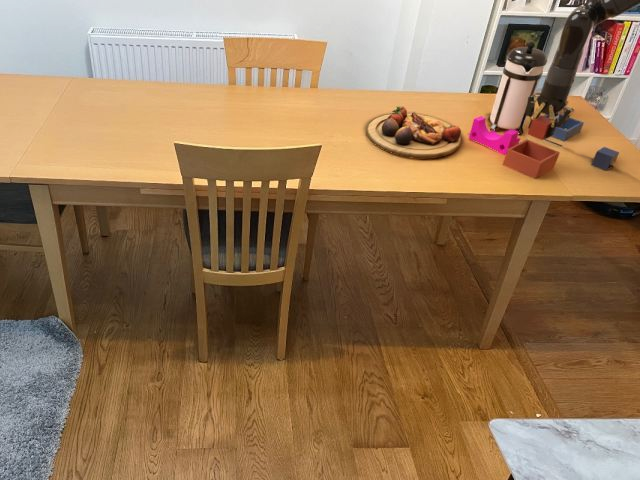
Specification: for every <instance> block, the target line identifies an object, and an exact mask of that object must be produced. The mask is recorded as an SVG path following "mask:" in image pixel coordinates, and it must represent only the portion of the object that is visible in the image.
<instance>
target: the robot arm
mask: <svg viewBox="0 0 640 480" xmlns="http://www.w3.org/2000/svg"><path fill="white" fill-rule="evenodd" d="M639 5H640V0H588V1H586V2H585V3H583V4H581V5H579V6H577V7H575V9H573V10H572V11H571V12H570V14H569V15H568V16H567V18H566V20H565V21H564V24H563V27H562V30H561V34H560V39H559V41H558V46H557V48H556V50H555V52H554V53H555V54H554V55H553V59H552V62H551V63H550V66H549V67H548V70H547V73H546V76H545V79H544V82H543V85H542V88H541V91H540V94H539V95H532V96H530V97H528V102H527V112H526V115H527V117H529V118H530V120H529V124H528V126H527V128H528V130H529V129H530V126H531V124H532V121H533V119H535V118H537V117H539V116H541V115H542V114H545V115H547V114H548V115H550V127H549V129H548V131H547V134H546V137H545V138H547V139H549V138H552V137H551V136H552V135H553V134H554V131H555V129H556V127H558V128H559V127H561V126H563V125H564V124H565V123H566V121H567V120H568V118H569V117H570V118H571V116H572V114H573V113H574V111H575V109H574V108H573V107H571V108H570V107H568V105H567V106H566V99H567V100H568V97H569V94H570V91H571V89H572V87H573V84H574V82H575V78H576V75H577V73H578V72H577V71H578V68H579V65H580V62H581V60H582V58H583V54H584V50H585V46H586V43H587V41H588V38H589V36H590V34H591V31H592V29H593V28H595V27H596V26H598V25H599V24H601V23H603V22H605V21H607V20H609V19H614V18H616V17H618V16H621V15H622V14H625V13H626V12H628V11H630V10H632V9H633V8H635V7H637V6H639ZM536 103H537V106H538V107H537V109H536ZM535 109H536V110H535ZM562 109H563V111H562V115H563V116H562V118H561V119H560V121H559V122H558V118H559V111H561V110H562Z"/></svg>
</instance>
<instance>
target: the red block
mask: <svg viewBox="0 0 640 480" xmlns="http://www.w3.org/2000/svg"><path fill="white" fill-rule="evenodd" d="M549 127H550V118H547V117H545V115H542V114H541V115H540V116H539V117H537V118H535V119H533V121H532V124H531V126H530V129H528V132H527V135H529V136H531V137H533V138H536V139H539V140H541V141H544V139H545V137H546V134H547V131H548V129H549Z"/></svg>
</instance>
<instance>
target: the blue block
mask: <svg viewBox="0 0 640 480" xmlns="http://www.w3.org/2000/svg"><path fill="white" fill-rule="evenodd" d="M619 155H620V152H619V151H616V150H614V149H611V148H609V147H606V146H602V147H601V148H600V149H598V150H597V151H596V153H595V155H594V158H593V160H592V162H591V166H593V167H595V168H597V169H600V170H603V171H608V170H610V169H611V168H613V167H614V165H613V163H615V162H616V161H617V159H618V156H619Z"/></svg>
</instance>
